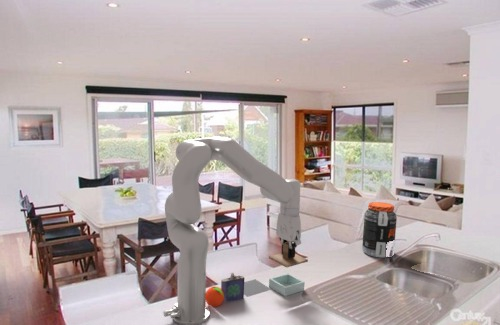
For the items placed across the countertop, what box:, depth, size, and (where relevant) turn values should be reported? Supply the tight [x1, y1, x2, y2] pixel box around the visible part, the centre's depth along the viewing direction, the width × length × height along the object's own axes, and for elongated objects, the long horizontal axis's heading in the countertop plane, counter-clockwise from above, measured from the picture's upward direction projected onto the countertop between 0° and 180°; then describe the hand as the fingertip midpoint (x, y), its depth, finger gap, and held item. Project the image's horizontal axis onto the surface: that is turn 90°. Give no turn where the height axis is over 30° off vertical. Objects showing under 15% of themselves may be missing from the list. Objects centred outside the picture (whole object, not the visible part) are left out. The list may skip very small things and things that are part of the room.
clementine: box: [206, 286, 224, 307], centre depth 136 cm, size 8×7×7 cm
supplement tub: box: [361, 201, 398, 259], centre depth 194 cm, size 16×16×26 cm
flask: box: [220, 272, 245, 304], centre depth 140 cm, size 9×3×11 cm, turn 116°
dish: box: [268, 273, 305, 297], centre depth 151 cm, size 10×10×4 cm
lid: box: [268, 241, 309, 268], centre depth 149 cm, size 11×11×7 cm
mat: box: [244, 279, 272, 298], centre depth 151 cm, size 12×11×1 cm
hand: (288, 255), depth 149 cm, fingers closed on lid, 3 cm apart
